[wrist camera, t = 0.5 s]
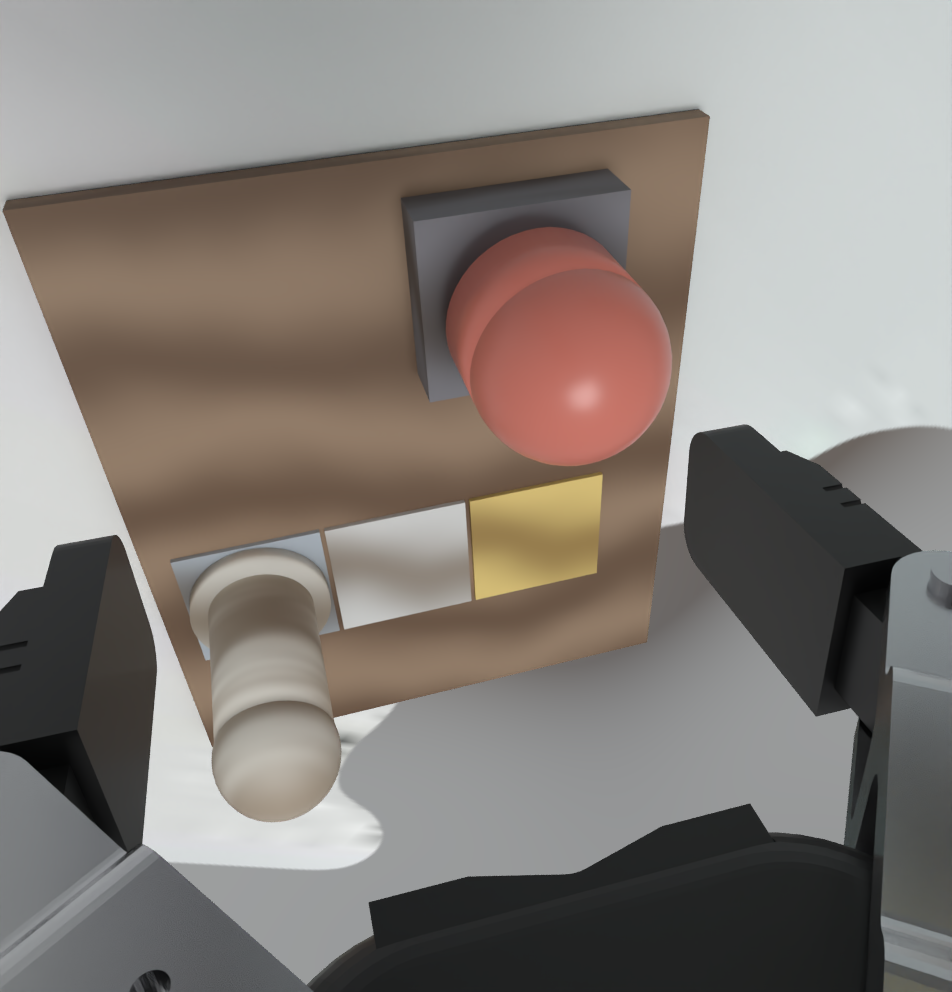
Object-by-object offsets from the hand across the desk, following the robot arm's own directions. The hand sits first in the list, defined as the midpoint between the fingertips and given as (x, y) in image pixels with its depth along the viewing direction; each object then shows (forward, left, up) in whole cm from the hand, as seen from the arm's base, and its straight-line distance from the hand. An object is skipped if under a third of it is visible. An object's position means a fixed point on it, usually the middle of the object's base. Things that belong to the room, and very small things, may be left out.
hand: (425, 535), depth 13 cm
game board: (+14, +3, -19) cm, 24 cm away
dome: (+6, +7, -15) cm, 17 cm away
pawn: (+18, -4, -18) cm, 26 cm away
